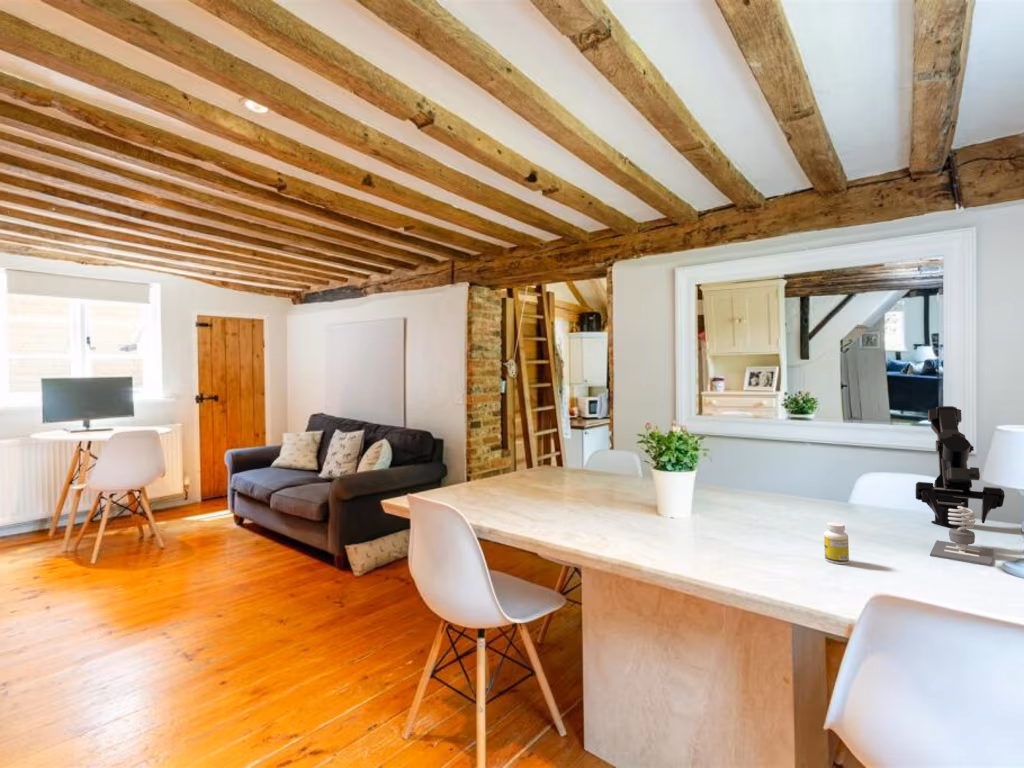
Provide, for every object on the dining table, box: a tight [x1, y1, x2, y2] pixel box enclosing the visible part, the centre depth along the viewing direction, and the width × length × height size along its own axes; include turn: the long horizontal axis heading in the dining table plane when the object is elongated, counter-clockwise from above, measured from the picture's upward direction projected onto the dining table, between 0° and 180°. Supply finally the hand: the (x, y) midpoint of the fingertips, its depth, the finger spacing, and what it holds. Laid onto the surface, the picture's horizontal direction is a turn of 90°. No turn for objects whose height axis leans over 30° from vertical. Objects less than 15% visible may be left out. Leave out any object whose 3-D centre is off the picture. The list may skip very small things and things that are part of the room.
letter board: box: [929, 539, 994, 567], centre depth 140 cm, size 16×12×1 cm
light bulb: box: [948, 506, 976, 551], centre depth 140 cm, size 6×6×12 cm
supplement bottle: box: [823, 521, 850, 565], centre depth 136 cm, size 5×5×10 cm
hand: (960, 520), depth 141 cm, fingers open, 9 cm apart
